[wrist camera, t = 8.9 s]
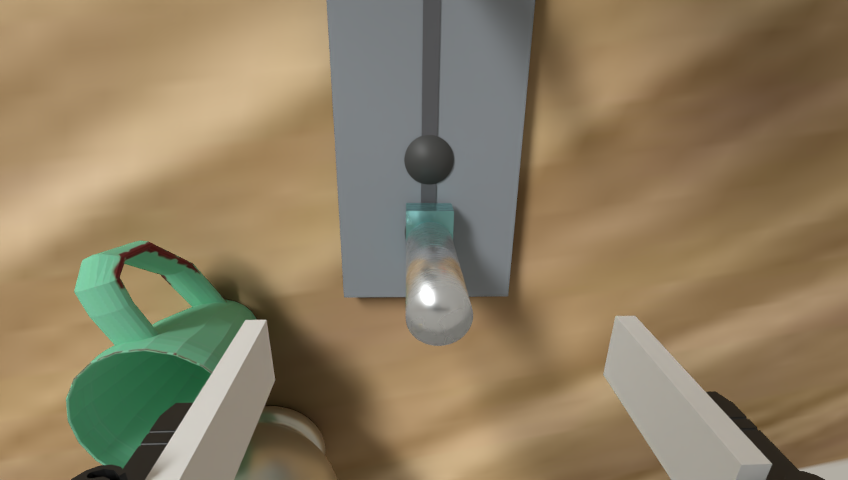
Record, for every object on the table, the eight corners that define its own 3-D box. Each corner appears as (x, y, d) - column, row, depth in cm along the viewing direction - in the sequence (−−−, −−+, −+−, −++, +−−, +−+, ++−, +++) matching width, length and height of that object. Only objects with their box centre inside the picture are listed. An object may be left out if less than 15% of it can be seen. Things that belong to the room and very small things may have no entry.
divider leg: (405, 203, 28) (405, 272, 18) (451, 203, 29) (475, 271, 18) (406, 264, 30) (405, 358, 20) (449, 264, 30) (470, 358, 20)
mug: (309, 362, 35) (274, 467, 26) (195, 390, 36) (120, 502, 26) (236, 193, 30) (159, 245, 20) (105, 228, 30) (-29, 295, 21)
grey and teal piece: (322, -144, 23) (239, -364, 12) (540, -137, 24) (668, -341, 12) (346, 287, 33) (313, 404, 21) (503, 287, 33) (556, 400, 21)
